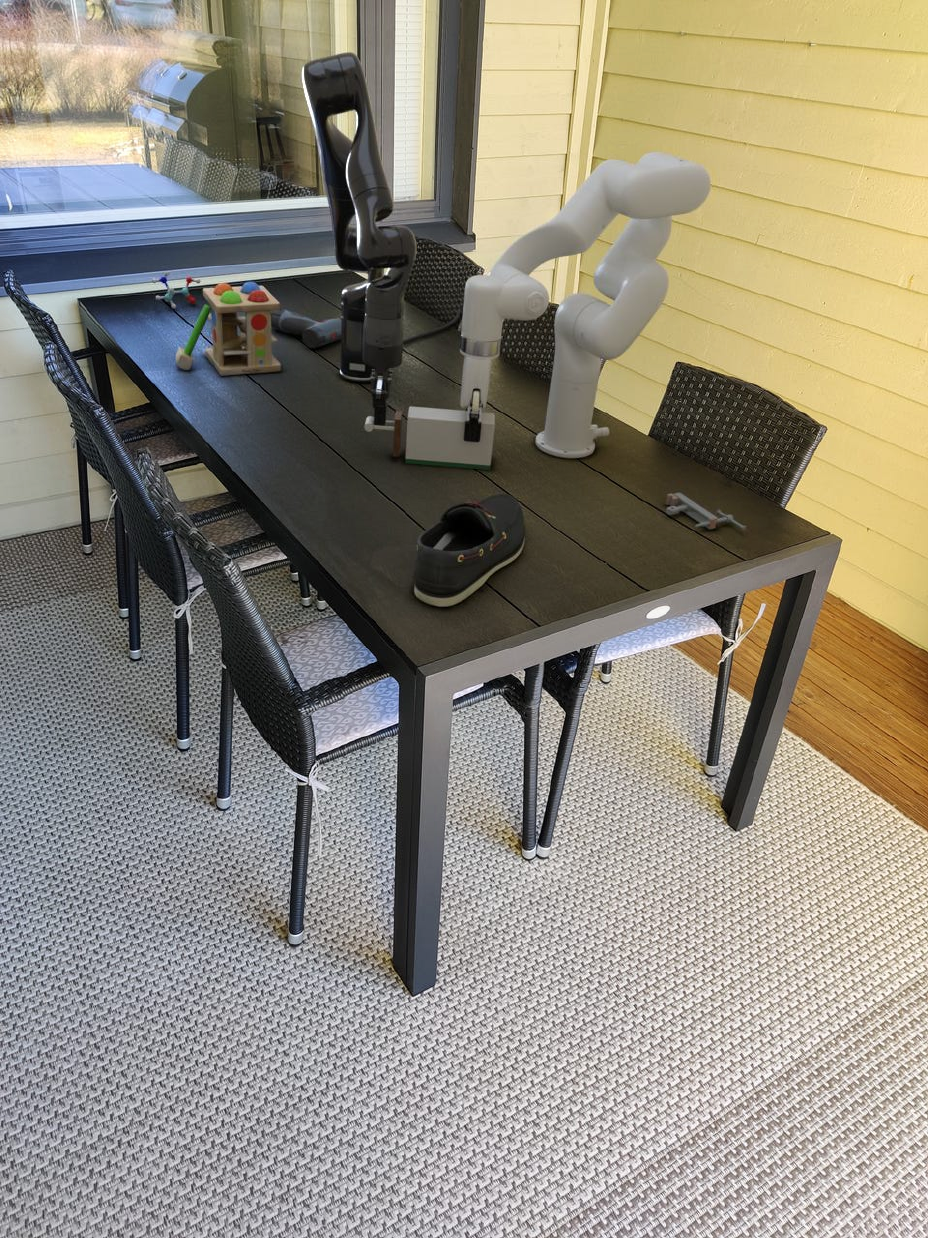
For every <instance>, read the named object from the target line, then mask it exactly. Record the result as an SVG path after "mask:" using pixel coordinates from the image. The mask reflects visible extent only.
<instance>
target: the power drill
mask: <svg viewBox="0 0 928 1238" xmlns="http://www.w3.org/2000/svg"><path fill="white" fill-rule="evenodd" d="M271 328H274V329H276V330H278V331H281V332H284V333H288V334H290V335H296V336H300V337H302V341H303V343H304V344H305V346H306V347H308V348H309V349H316V348H319V347H322V346H325V345H328V344H330V343H333V342H336V341H338V340H341V317H338V318H331V319H324V320H322V321H320V322H319V321H316V320H314V319H312V318H309V317H306V316H304V315H302V314H300V313H297V312H293V311H291V310H288V309H283V308H280V310H271Z"/></svg>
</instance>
